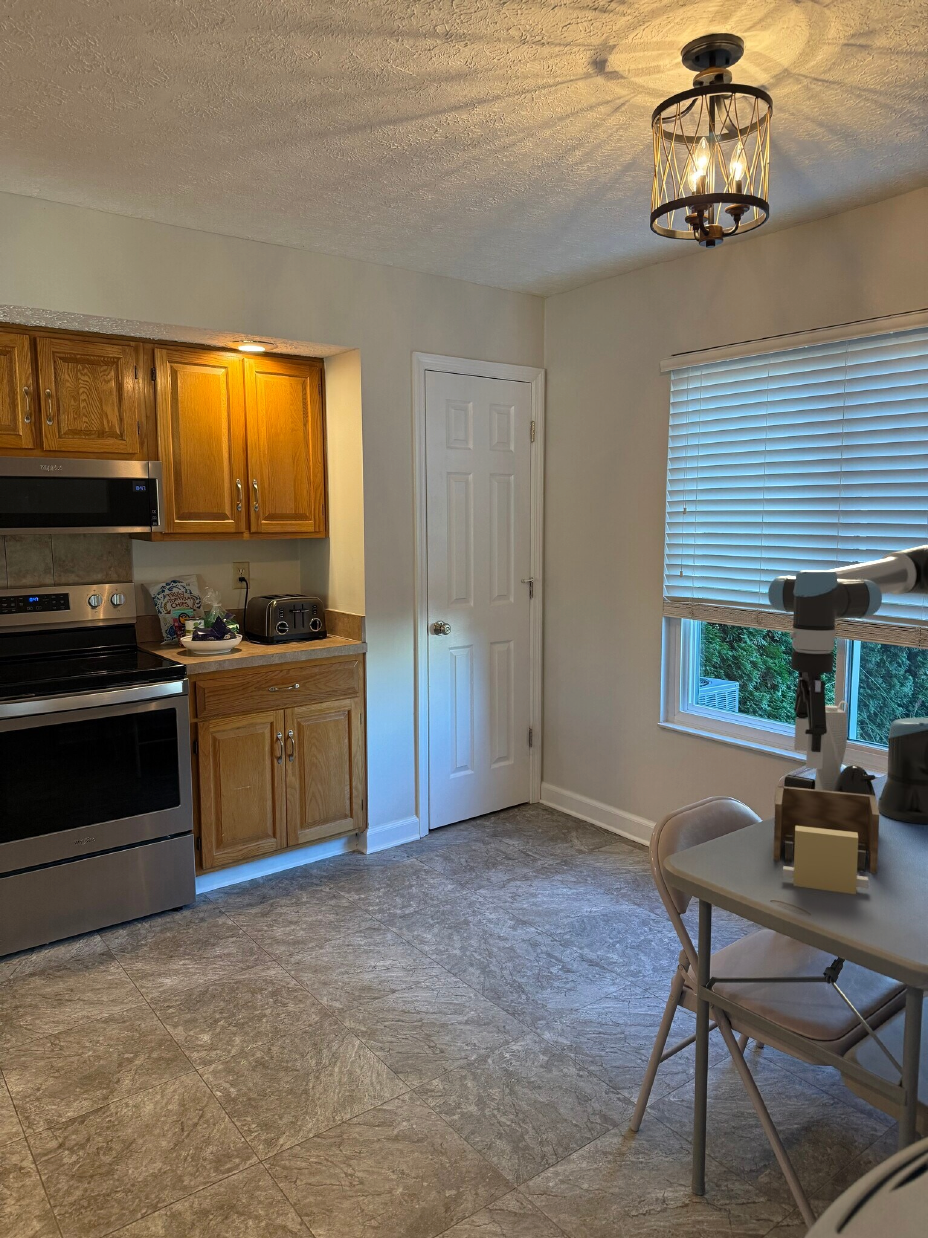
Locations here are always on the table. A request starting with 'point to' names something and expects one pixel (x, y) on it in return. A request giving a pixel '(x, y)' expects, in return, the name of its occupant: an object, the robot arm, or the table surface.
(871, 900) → the table surface
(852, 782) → the pump dispenser
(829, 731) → the skyscraper
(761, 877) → the table surface
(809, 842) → the yellow rectangular block
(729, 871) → the table surface
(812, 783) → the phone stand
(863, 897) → the table surface
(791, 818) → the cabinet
